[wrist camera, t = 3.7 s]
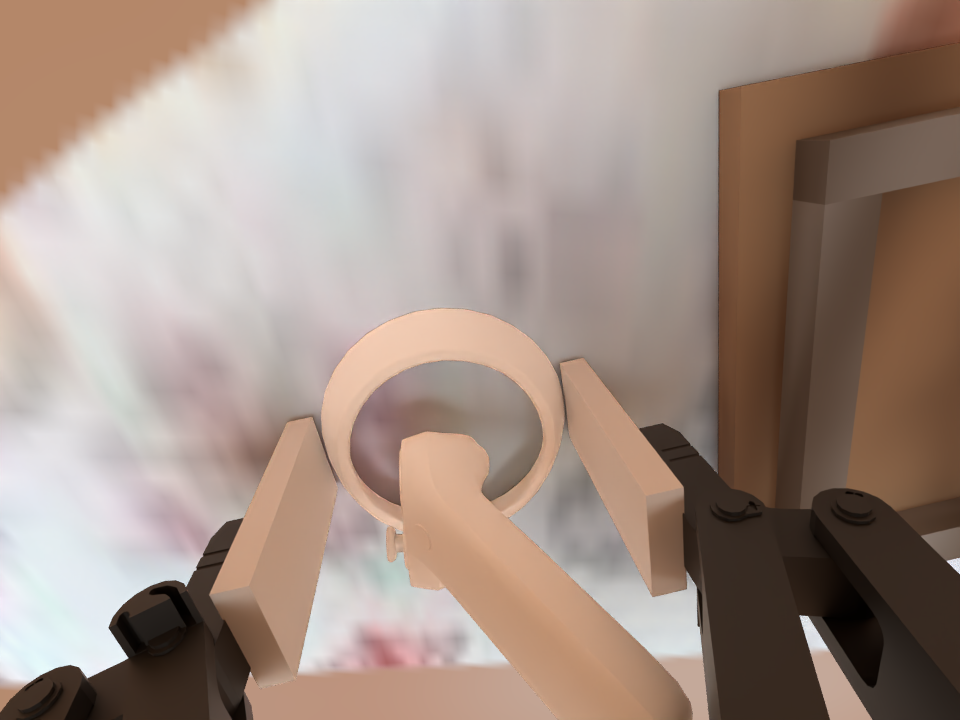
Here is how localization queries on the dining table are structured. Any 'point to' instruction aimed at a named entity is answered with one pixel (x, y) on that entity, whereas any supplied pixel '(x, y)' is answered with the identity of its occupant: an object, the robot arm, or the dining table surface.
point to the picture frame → (844, 288)
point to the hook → (493, 524)
